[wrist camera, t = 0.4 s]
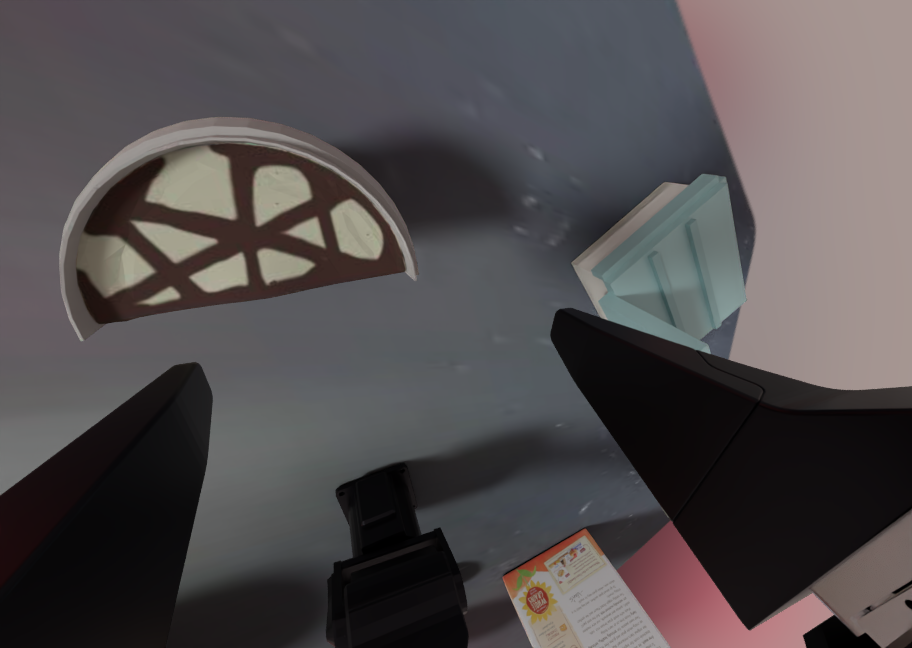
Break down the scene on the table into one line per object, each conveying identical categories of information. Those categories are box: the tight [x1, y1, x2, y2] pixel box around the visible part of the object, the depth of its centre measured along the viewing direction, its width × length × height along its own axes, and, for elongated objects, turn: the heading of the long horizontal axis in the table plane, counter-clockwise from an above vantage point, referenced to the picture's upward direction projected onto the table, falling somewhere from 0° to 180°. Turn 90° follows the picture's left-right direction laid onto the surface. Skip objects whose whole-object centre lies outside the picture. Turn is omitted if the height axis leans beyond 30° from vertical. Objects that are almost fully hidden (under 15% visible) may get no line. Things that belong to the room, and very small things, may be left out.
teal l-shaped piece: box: [591, 174, 746, 354], centre depth 26 cm, size 12×14×9 cm
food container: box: [59, 117, 419, 341], centre depth 16 cm, size 12×6×10 cm, turn 93°
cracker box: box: [503, 529, 671, 648], centre depth 44 cm, size 14×6×21 cm, turn 105°
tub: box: [571, 182, 689, 320], centre depth 31 cm, size 10×12×4 cm
